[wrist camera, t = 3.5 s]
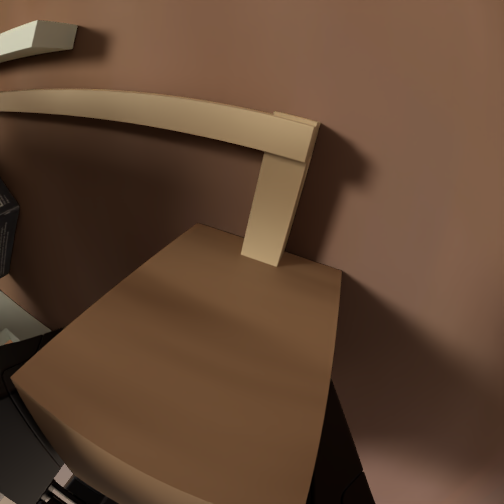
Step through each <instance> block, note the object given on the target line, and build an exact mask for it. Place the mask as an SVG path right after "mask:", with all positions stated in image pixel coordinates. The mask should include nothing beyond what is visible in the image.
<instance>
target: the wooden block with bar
mask: <svg viewBox="0 0 504 504" xmlns="http://www.w3.org/2000/svg"><path fill="white" fill-rule="evenodd" d="M0 111H9V112H32V113H47V114H60V115H71V116H80V117H89V118H98V119H106V120H113V121H120V122H127V123H134V124H140V125H146V126H152V127H158V128H163V129H169V130H174V131H179V132H184V133H189V134H194V135H199V136H203V137H208V138H212V139H217V140H221V141H226V142H230V143H234V144H238V145H242V146H246V147H250V148H254V149H258V150H262V151H265V152H264V156H263V160H262V165H261V169H260V173H259V177H258V182H257V186H256V190H255V195H254V199H253V203H252V207H251V212H250V216H249V220H248V225H247V229H246V233H245V238H242V237H239V236H236V235H233V234H230V233H227V232H224V231H221V230H218V229H215V228H212V227H209V226H206V225H203V224H200V223H197V224H195V225H194V226H193V227H191V228H190V229H189V230H187V231H186V232H185V233H183V234H182V235H181V236H179V237H178V238H177V239H175V240H174V241H173V242H171V243H170V244H169V245H167V246H166V247H165V248H163V249H162V250H161V251H159V252H158V253H157V254H156V255H154V256H153V257H152V258H150V259H149V260H148V261H146V262H145V263H144V264H143V265H141V266H140V267H139V268H137V269H136V270H135V271H134V272H132V273H131V274H130V275H129V276H127V277H126V278H125V279H124V280H122V281H121V282H120V283H119V284H117V285H116V286H115V287H114V288H112V289H111V290H110V291H109V292H107V293H106V294H105V295H104V296H103V297H101V298H100V299H99V300H98V301H97V302H95V303H94V304H93V305H92V306H90V307H89V308H88V309H87V310H86V311H84V312H83V313H82V314H81V315H80V316H79V317H77V318H76V319H75V320H74V321H73V322H71V323H70V324H69V325H68V326H67V327H66V328H65V329H63V330H62V331H61V332H60V333H59V334H58V335H56V336H55V337H54V338H53V339H52V340H51V341H50V342H48V343H47V344H46V345H45V346H44V347H43V348H42V349H41V350H39V351H38V352H37V353H36V354H35V355H34V356H33V357H32V358H31V359H30V360H28V361H27V362H26V363H25V364H24V365H23V366H22V367H21V368H20V369H19V370H18V371H16V372H15V373H14V374H13V375H12V376H11V377H10V378H11V380H12V382H13V384H14V386H15V388H16V389H17V391H18V393H19V395H20V397H21V398H22V400H23V402H24V404H25V405H26V407H27V409H28V410H29V412H30V414H31V415H32V417H33V418H34V420H35V422H36V423H37V425H38V426H39V428H40V429H41V431H42V432H43V434H44V435H45V437H46V438H47V440H48V441H49V443H50V444H51V445H52V447H53V448H54V450H55V451H56V452H57V454H58V455H59V456H60V458H61V459H62V460H63V462H64V463H65V464H66V465H67V467H68V468H69V469H70V470H71V472H72V473H73V474H74V475H75V476H76V477H78V478H79V479H81V480H82V481H84V482H85V483H86V484H88V485H90V486H91V487H93V488H94V489H96V490H97V491H99V492H100V493H102V494H104V495H105V496H107V497H109V498H110V499H112V500H114V501H115V502H117V503H119V504H306V500H307V496H308V492H309V488H310V484H311V479H312V475H313V471H314V466H315V461H316V457H317V452H318V447H319V442H320V437H321V432H322V426H323V421H324V415H325V409H326V403H327V397H328V391H329V384H330V378H331V371H332V363H333V356H334V348H335V339H336V330H337V321H338V311H339V300H340V288H341V275H342V271H341V270H338V269H335V268H332V267H329V266H326V265H323V264H320V263H317V262H314V261H311V260H308V259H305V258H302V257H299V256H296V255H293V254H290V253H287V252H284V251H285V247H286V244H287V241H288V237H289V234H290V231H291V227H292V224H293V220H294V217H295V213H296V210H297V206H298V203H299V199H300V196H301V192H302V189H303V185H304V182H305V178H306V175H307V171H308V167H309V164H310V160H311V156H312V153H313V149H314V145H315V142H316V138H317V134H318V130H319V127H320V123H321V122H317V121H314V120H310V119H306V118H303V117H299V116H295V115H291V114H287V113H283V112H277V111H274V114H272V113H267V112H263V111H259V110H254V109H249V108H245V107H240V106H235V105H229V104H224V103H219V102H213V101H207V100H201V99H194V98H188V97H180V96H173V95H165V94H156V93H146V92H135V91H122V90H105V89H30V90H14V91H2V92H0Z"/></svg>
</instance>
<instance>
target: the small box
mask: <svg viewBox="0 0 504 504" xmlns="http://www.w3.org/2000/svg"><path fill="white" fill-rule="evenodd" d="M18 215H19V205H18V203H17V201H16V200H15V198H14V197H13V196H12V194H11V193H10V191H9V190H8V188H7V187H6V185H5V184H4V182H3V181H2V179H1V178H0V278H2V277H4V276H5V275H7V274H8V273H9V270H10V262H11V254H12V248H13V242H14V235H15V230H16V225H17V220H18Z"/></svg>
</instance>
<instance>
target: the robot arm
mask: <svg viewBox="0 0 504 504" xmlns="http://www.w3.org/2000/svg"><path fill="white" fill-rule="evenodd" d="M66 327H67V326H66ZM66 327H63V328H60V329H57V330H54V331H51V332H47V333H44V335H42V334H41V335H38V336H35V337H32V338H28V339H25V340H21V341H18V342H14V343H10V344H5V345H1V346H0V501H1V499H2V498H3V497H4V496H6V497H7V498H9V499H10V500H12V501H13V502H15V503H16V504H67V503H66V502H64V501H63V500H61V499H60V498H59V497H58V496H56V495H55V494H54V493H52V491H53V489H55V490H56V491H58V492H59V493H60V494H62V495H63V496H64V497H66V498H67V499H68V500H69V501H71V502H72V503H74V504H119V503H117V502H115V501H114V500H112V499H110V498H109V497H107V496H105V495H104V494H102V493H100V492H99V491H97V490H96V489H94V488H93V487H91V486H90V485H88V484H86V483H85V482H84V481H82V480H81V479H79V478H78V477H76V476H75V475H74V474H73V475H72V476H71V478H70V479H69V480H68V482H67V483H66V484H65V486H64V487H62V486H60V485H59V484H58V483H57V482H56V481H55V480H54V477H55V476H56V474H57V473H58V472H59V470H60V469H61V467H62V466H63V465H64V462H63V460H62V459H61V458H60V456H59V455H58V454H57V452H56V451H55V450H54V448H53V447H52V445H51V444H50V443H49V441H48V440H47V438H46V437H45V435H44V434H43V432H42V431H41V429H40V428H39V426H38V425H37V423H36V422H35V420H34V418H33V417H32V415H31V414H30V412H29V410H28V409H27V407H26V405H25V404H24V402H23V400H22V398H21V397H20V395H19V393H18V391H17V389H16V388H15V386H14V384H13V382H12V380H11V378H10V377H11V376H12V375H13V374H14V373H15V372H16V371H18V370H19V369H20V368H21V367H22V366H23V365H24V364H25V363H26V362H27V361H28V360H30V359H31V358H32V357H33V356H34V355H35V354H36V353H37V352H38V351H39V350H41V349H42V348H43V347H44V346H45V345H46V344H47V343H48V342H50V341H51V340H52V339H53V338H54V337H55V336H56V335H58V334H59V333H60V332H61V331H62V330H63V329H65V328H66ZM362 471H363V468H362V465H361V462H360V459H359V456H358V453H357V450H356V447H355V444H354V441H353V438H352V435H351V433H350V430H349V427H348V424H347V421H346V418H345V415H344V413H343V410H342V407H341V404H340V401H339V399H338V396H337V393H336V390H335V388H334V385H333V382H332V379H331V378H330V384H329V391H328V397H327V403H326V409H325V415H324V421H323V426H322V432H321V437H320V442H319V447H318V452H317V457H316V461H315V466H314V471H313V475H312V479H311V484H310V488H309V492H308V496H307V500H306V504H375V501H374V499H373V496H372V493H371V491H370V488H369V485H368V482H367V479H366V476H365V473H364V472H362ZM46 499H49V501H48V502H45V500H46Z"/></svg>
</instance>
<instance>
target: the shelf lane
mask: <svg viewBox="0 0 504 504" xmlns="http://www.w3.org/2000/svg"><path fill="white" fill-rule="evenodd" d="M77 27H78V25H73V24H67V23H59V22H51V21H42V20H36V21H33V22H30V23H27V24H25V25H22V26H19V27H16V28H14V29H11V30H9V31H6V32H4V33H1V34H0V63H1V62H5V61H9V60H13V59H18V58H22V57H27V56H32V55H37V54H43V53H49V52H55V51H62V50H70V49H73V44H74V39H75V35H76V31H77ZM51 331H52V330H50V329H49V328H47V327H46V326H45V325H43V324H42V323H40V322H39V321H38V320H36V319H35V318H34V317H33V316H31V315H30V314H29V313H27V312H26V311H25V310H23V309H22V308H21V307H20V306H18V305H17V304H16V303H15V302H14V301H12V300H11V299H10V298H9V297H7V296H6V295H5V294H4V293H3V292H2V291H0V346H1V345H4V344H5V343H6V342H7V341H9V340H10V339H11V340H12V341H13V342H18V341H21V340H25V339H28V338H32V337H35V336H38V335H41V334H42V335H44V333H47V332H51Z"/></svg>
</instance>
